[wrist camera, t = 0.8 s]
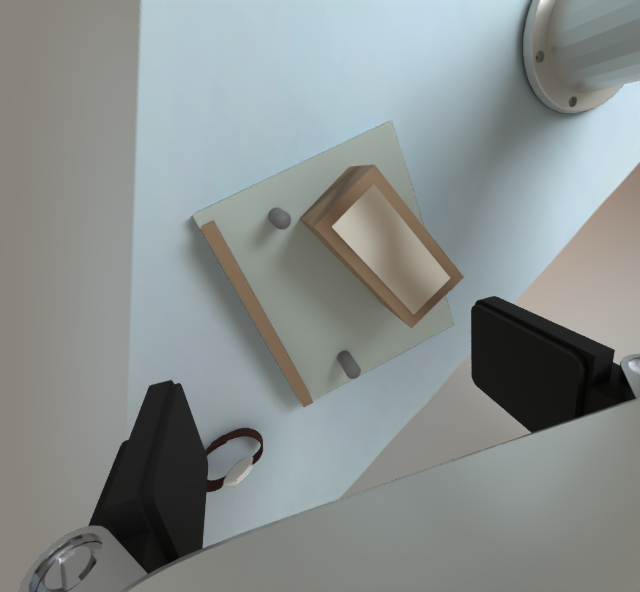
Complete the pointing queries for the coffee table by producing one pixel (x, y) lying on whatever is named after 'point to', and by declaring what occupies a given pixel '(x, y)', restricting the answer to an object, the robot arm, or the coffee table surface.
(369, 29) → the coffee table surface
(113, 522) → the robot arm
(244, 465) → the watch
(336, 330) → the wall board
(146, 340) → the coffee table surface
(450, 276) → the wooden box
